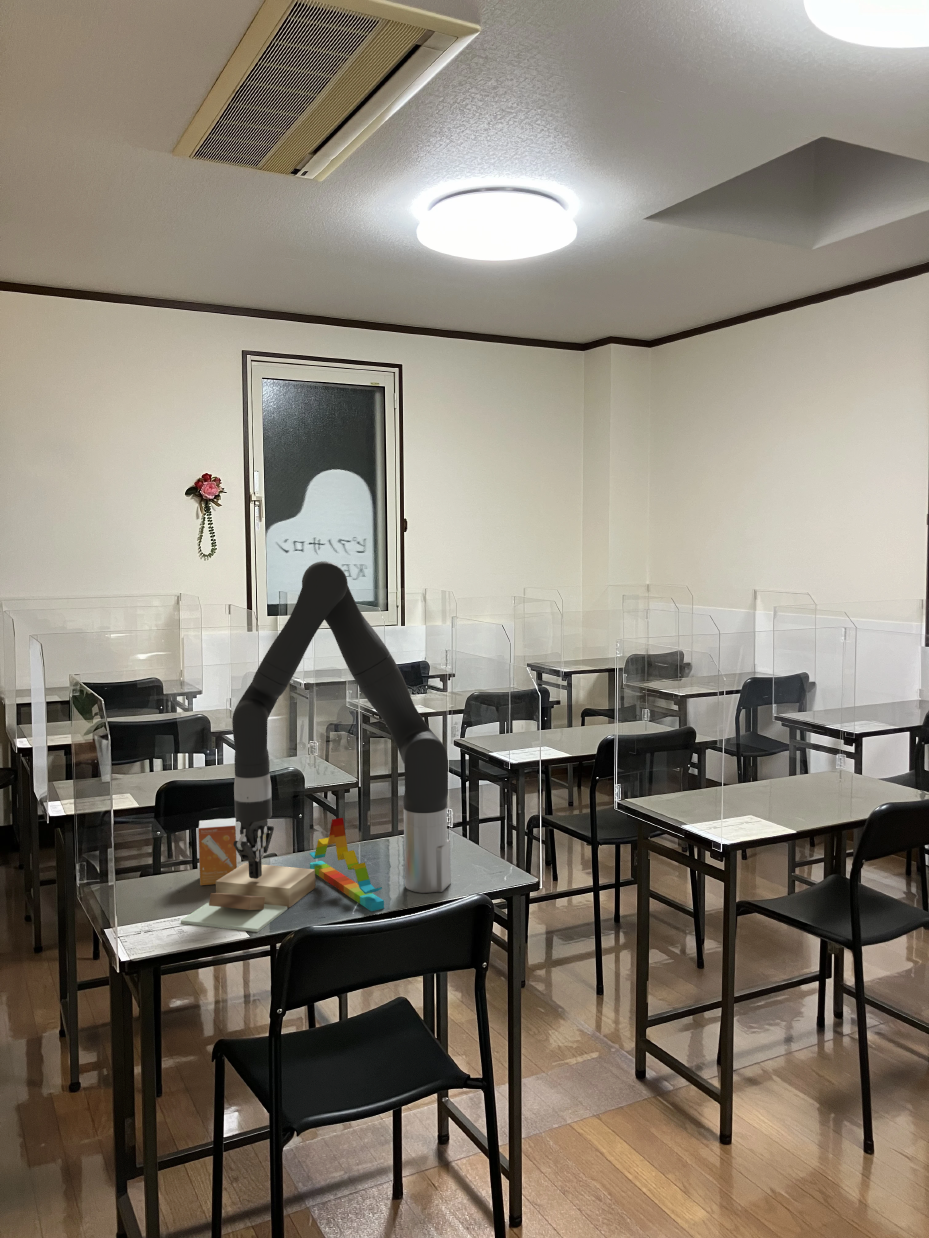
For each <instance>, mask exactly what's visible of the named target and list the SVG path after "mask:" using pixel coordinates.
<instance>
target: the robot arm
mask: <svg viewBox="0 0 929 1238" xmlns="http://www.w3.org/2000/svg"><path fill="white" fill-rule="evenodd" d="M301 586H302V587H301V589H300V593H299V595H298V597H297V600H296V603H295V606H294V608H293V610H292V612H291V613H290V615H289V618H288V619H287V621H286V623H285V624H284V626H283V627H282V629H281V631H280V632H279V633H278V634H277V637H276V638H275V639H274V641H273V642H272V644H270V645H271V646H270V647H269V649H268V650H267V652H266V654H265V655H264V657H263V659H262V661H261V662H260V664H259V665H258V667H257V670H256V671H255V673H254V676H253V678H252V680H251V682H250V684H249V685H248V687H247V688H246V689H245V692H244V693H243V695H242V696H241V698H240V700H239V701H238V703H237V704H236V706H235V708H234V711H233V713H232V718H231V719H232V720H231V721H232V735H233V743H234V784H233V792H234V795H233V797H234V818H236V821H238V822H239V823H240V828H239V835H240V836H239V838H238V840H236V841H234V844H233V845H234V847H235V849H236V850H237V855H239V857H240V859H241V860H242V861H247V863H249V877H250V878H254V879H258V878H259V877H261V876H262V865H263V864H262V863H263V862H262V859H264V856H265V854H267V853H268V851H269V849H270V848H269V847H270V843H271V841H272V837H273V834H274V830H275V827H274V825H272V826H271V825H269V821H268V820H269V819H270V818H272V816H273V810H272V809H273V804H272V802H273V801H272V782H271V776H270V755H269V750H268V719H269V718H270V715H271V714H272V711H273V709H274V708H275V705H276V703H277V702H278V700H279V697H280V696H282V695H283V694H284V693H285V691H286V689H287V687H288V686H289V684H290V682H291V680H292V679H293V677H294V675H295V673H296V671H297V670H298V668H299V665H300V664H301V662H302V660H303V657H304V655H305V654H306V652H307V650H308V648H309V646H310V644H311V642H312V640H313V639H314V636H315V635H316V634H317V631H318V630H319V629H320V627H321V625H322V624H323V622H324V621H325V622H326V624H327V626H328V627H329V629H330V630H331V632H332V635H333V637H334V639H335V641H336V644H337V646H338V648H339V651H340V653H341V656H342V658H343V660H344V661H345V664H346V666H347V668H348V670H349V672H350V674H351V676H352V677H353V679H354V681H355V683H356V684H357V686H358V688H359V690H360V691H361V692H362V694H363V696H364V697H365V698H366V700H367V701H368V702H369V704H370V706H372V707H373V709H374V710H375V711H376V713H377V714H378V715H379V716H380V717H381V719H382V720H383V722H384V723H385V725H386V727H387V729H388V731H389V733H390V734H391V736H392V738H393V741H394V743H395V745H396V747H397V751H398V752H399V755H400V757H401V760H402V763H403V764H404V792H403V793H404V795H403V798H402V799H403V800H402V801H403V802H402V803H403V842H404V843H403V847H404V851H403V852H404V886H405V889H407V890H409V891H411V892H415V893H420V894H421V893H427V894H428V893H435V892H436V893H437V892H439V893H441V892H442V893H443V892H444V891H445V890H446V888H448V886H450V884H451V883H452V872H451V871H452V868H451V865H452V864H451V861H452V859H451V858H452V857H451V840H450V839H448V822H447V821H448V819H447V816H448V815H447V799H448V794H449V759H448V751H447V748H446V746H445V745H444V744H443V742H442V741H441V740H440V739H439V737H438V736H437V735H436V733H434V732H433V730H432V729H431V728H430V727H429V726H428V724H427V722H426V720H424V718H423V717H422V715H421V714H420V713H419V711H418V709H417V707H416V706H415V703H414V702H413V701H414V700H413V699H412V697H411V694H410V691H409V688H408V686H407V683H406V681H405V679H404V677H403V673H402V672H401V670H400V669H399V666H398V665H397V663H396V661H395V659H394V657H393V655H392V654H391V653H390V651H389V649H388V647H387V645H386V644H385V643H384V641H383V640H382V639H381V637H380V636H379V634H378V633H377V631H376V630H375V629H374V628H373V627H372V625H371V624H370V623H369V622H368V621H367V619H366V618H365V616H364V615H363V613H362V611H361V610H360V608H359V607H358V605H357V603H356V600H355V599H354V596H353V594H352V591H351V590H350V587H349V584H348V578H347V575H346V573H345V571H344V570H343V568H342V567H340V566H339V565H337V564H335V563H334V562H332V561H326V560H325V561H324V560H322V561H317V562H314V563H312V564H310V566H308V568H306V569H305V571H304V573H303V575H302V579H301Z"/></svg>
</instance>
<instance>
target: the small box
mask: <svg viewBox="0 0 929 1238" xmlns="http://www.w3.org/2000/svg"><path fill="white" fill-rule="evenodd" d="M234 841H237V820H236V818H235V817H231V818H214V819H207V820H206V819H205V820H199V821H198V859H199V861H198V862H199V863H198V864H199V885H200V886H209V885H216V881H217V880H218V879H220V878H222V877H223V876H225V875H226V874H228V873H230V872H231V871H233V870H234V869H236V868H238V852H237V850H236V849H235V847H234V845H233V844H234Z"/></svg>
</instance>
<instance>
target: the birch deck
mask: <svg viewBox="0 0 929 1238" xmlns="http://www.w3.org/2000/svg"><path fill="white" fill-rule="evenodd" d="M315 888H316V874H315V869H310V868H303V867H302V868H301V867H293V866H291V867H289V866H282V865H281V866H280V865H271V864H270V865H269V864H262V876H261V877H259V878H258V879H254V878H250V877H249V863H248V862H244V863H242V864H241V865H239V866H237V868H236V869H234V870H233V871H231V872H230V873H228V874H226V875H225V876H223V877H222V878H220V879H218V880H217V881H216V884H215V893H229V894H239V895H250V896H260V897H265V902H264V904H268V905H278V906H287V908H291V907H292V906H294V905H295V904H296V903H297V902H298V901H300V900H302V899H303V898H304V897H305V896H306V895H308V894H309V893H310V892H311V891H313V890H314V889H315Z"/></svg>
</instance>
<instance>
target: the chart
mask: <svg viewBox="0 0 929 1238" xmlns="http://www.w3.org/2000/svg"><path fill="white" fill-rule="evenodd" d="M329 845H335V848H336V849H335V850H336V857H337V861H342V860H344V862H345V864H346V868H347V871H350V870H354V873H355V877H356V880H357V882H356V881H354V880H352V879H351V878H349V877H348V876H346V875H344V874H343V873H342V872H341V871H339V870H337V869H336V868H334V867H332V866H331V865H329V864H327V863H326V862H324V861H323V860H317V859H321V858H326V854H327V850H328V849H327V848H328V846H329ZM309 855H310V856H311V858H312V859H314V860H317V861H313V862H310V863H309V869H315V876H318V877H319V878H321V879H322V880H324V881H325V882H326V883H328V884H330V885H331V886H333V887H334V888H336V889H337V890H338V891H341V892H342V893H343V894H345V895H346V896H347V897H349V898H351V899H352V900H354V901H355V902H357V904H360V905H361V906H362V907H364V908H366V909H367V910H368V911H369V912H374V911H379V910H383V909H385V900H384V899H382V898H380V897H379V896H377V894H374V893H376V892H378V891H381V890H383V887H382V886H381V887H377V888H376V887H374V886H373V884H371V880H370V876H369V872H368V869H367V868H368V867H367V865H366V862H360V863H359V860H358V857H357V855H356V852H355V850H354V849H353V850H349V849H348V843H347V835H346V829H345V823H344V817H338V818H333V819H331V824H330V828H329V835H328V837H324V838H319V839H318V840H317V844H316V849H315V851H313V852H311V851H310V852H309Z"/></svg>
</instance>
